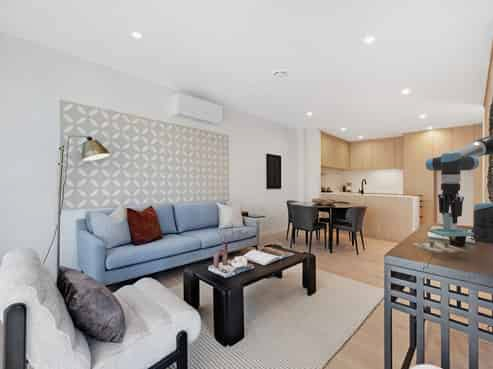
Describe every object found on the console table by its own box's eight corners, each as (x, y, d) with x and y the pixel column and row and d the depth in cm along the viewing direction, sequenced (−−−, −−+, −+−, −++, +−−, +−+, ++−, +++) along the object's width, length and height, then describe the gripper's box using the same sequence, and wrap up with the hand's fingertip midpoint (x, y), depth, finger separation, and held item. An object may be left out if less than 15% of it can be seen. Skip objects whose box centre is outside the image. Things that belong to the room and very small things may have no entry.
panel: (456, 230, 127) (456, 211, 127) (473, 235, 117) (474, 214, 117) (427, 231, 128) (427, 211, 127) (442, 236, 118) (442, 215, 117)
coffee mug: (471, 247, 135) (471, 230, 135) (453, 247, 137) (454, 229, 137) (457, 241, 147) (457, 225, 146) (441, 241, 149) (441, 225, 148)
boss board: (443, 244, 142) (443, 237, 142) (464, 252, 128) (464, 244, 128) (412, 244, 143) (413, 237, 142) (430, 252, 129) (430, 245, 128)
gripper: (430, 182, 129) (430, 225, 131) (456, 184, 113) (456, 232, 114) (444, 181, 129) (444, 224, 131) (473, 183, 113) (472, 232, 114)
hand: (449, 228), depth 122 cm, fingers closed on panel, 3 cm apart
